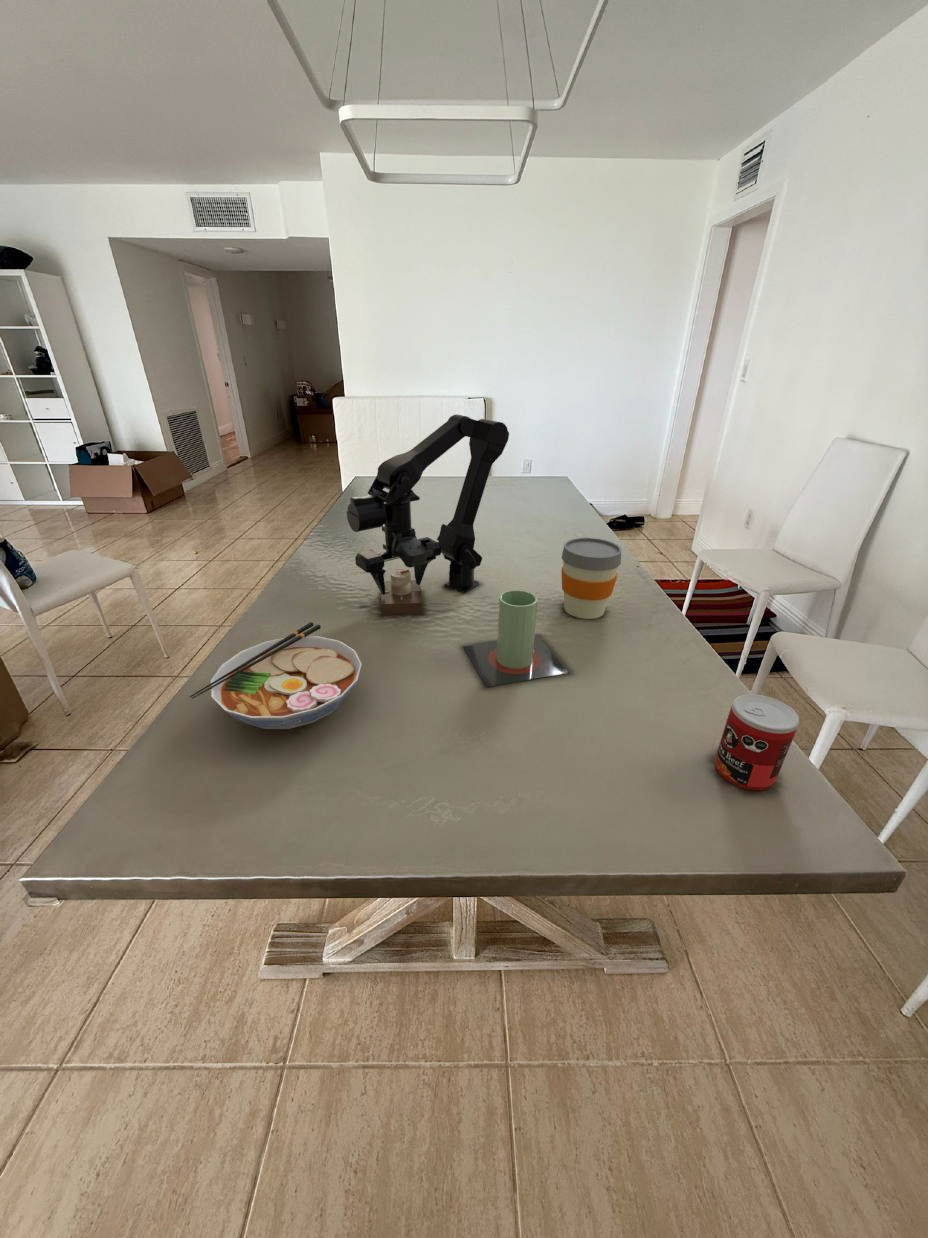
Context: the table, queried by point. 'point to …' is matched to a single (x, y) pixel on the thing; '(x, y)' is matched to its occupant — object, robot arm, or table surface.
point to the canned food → (755, 741)
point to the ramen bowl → (286, 680)
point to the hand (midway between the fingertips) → (401, 589)
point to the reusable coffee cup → (589, 575)
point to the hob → (499, 675)
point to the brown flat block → (402, 601)
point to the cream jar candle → (400, 582)
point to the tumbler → (516, 628)
